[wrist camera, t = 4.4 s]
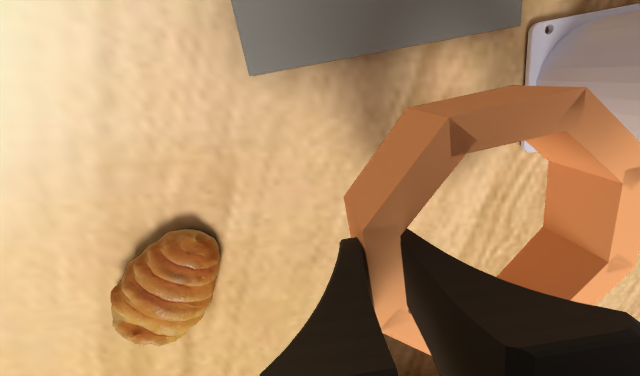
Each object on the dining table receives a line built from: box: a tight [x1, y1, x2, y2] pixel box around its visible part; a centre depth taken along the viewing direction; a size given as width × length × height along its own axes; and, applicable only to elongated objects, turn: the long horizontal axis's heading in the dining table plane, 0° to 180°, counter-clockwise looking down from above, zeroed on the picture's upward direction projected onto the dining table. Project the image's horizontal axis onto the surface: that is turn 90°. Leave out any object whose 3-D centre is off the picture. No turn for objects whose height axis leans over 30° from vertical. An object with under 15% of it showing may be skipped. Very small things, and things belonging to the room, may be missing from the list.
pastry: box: [111, 229, 220, 346], centre depth 22 cm, size 9×7×4 cm
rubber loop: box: [344, 85, 640, 356], centre depth 12 cm, size 10×10×3 cm
